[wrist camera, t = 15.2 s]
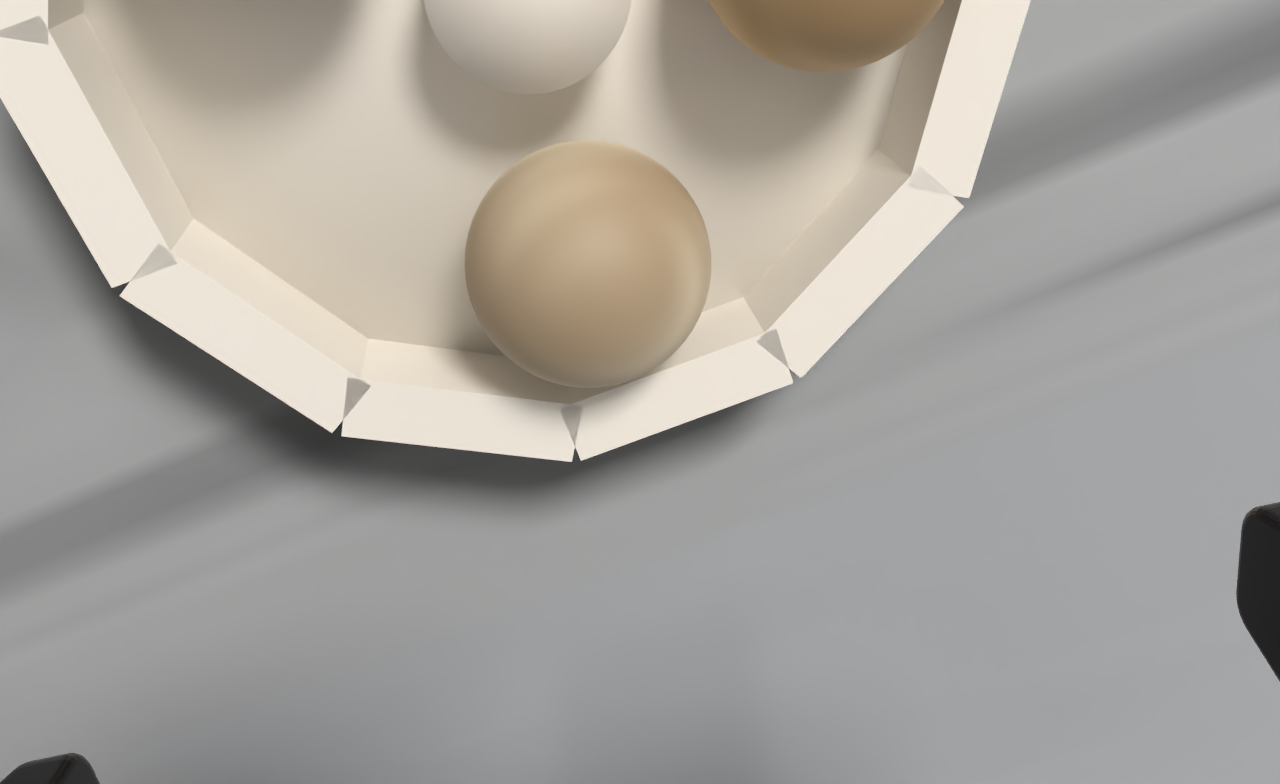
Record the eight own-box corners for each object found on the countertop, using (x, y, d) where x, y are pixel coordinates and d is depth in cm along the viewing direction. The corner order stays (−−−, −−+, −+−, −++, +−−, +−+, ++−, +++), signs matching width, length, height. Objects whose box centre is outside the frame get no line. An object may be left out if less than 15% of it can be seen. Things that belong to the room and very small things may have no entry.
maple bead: (720, 245, 20) (790, 320, 17) (548, 377, 20) (585, 476, 17) (591, 69, 18) (641, 114, 15) (407, 215, 19) (418, 290, 15)
